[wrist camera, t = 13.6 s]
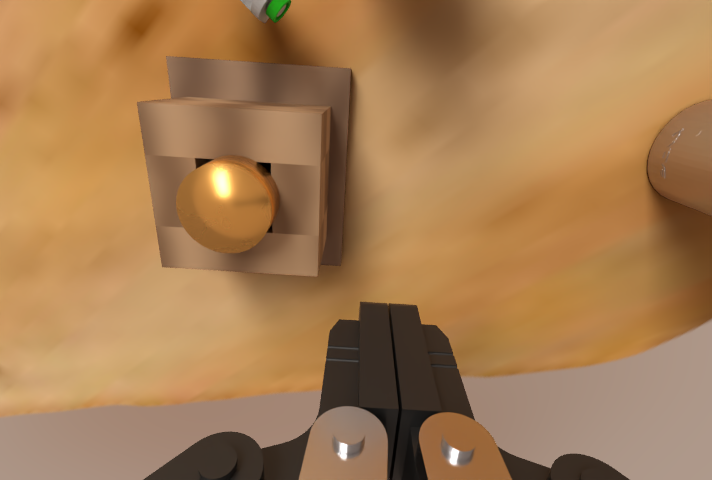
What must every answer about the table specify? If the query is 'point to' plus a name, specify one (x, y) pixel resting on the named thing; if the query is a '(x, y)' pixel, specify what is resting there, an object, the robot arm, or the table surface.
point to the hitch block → (253, 156)
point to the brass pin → (228, 203)
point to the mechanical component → (267, 8)
